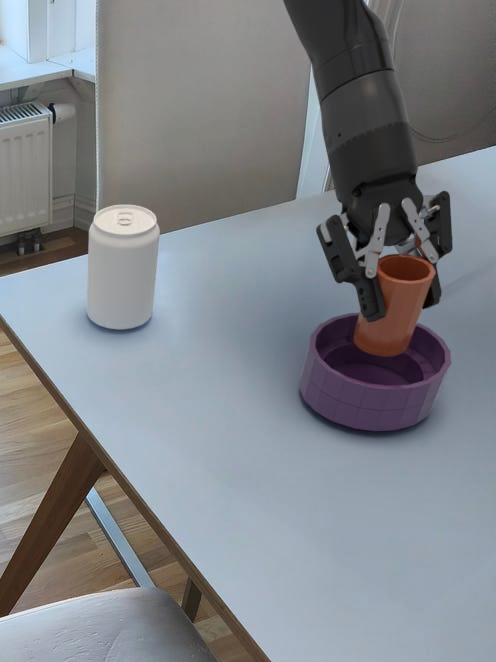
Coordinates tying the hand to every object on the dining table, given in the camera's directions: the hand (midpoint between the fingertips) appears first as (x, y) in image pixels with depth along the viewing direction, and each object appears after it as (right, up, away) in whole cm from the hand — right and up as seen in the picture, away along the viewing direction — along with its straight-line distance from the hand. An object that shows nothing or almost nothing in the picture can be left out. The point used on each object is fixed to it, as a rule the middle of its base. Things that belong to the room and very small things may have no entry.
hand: (403, 312), depth 87 cm
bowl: (0, -6, +10) cm, 11 cm away
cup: (0, -1, +4) cm, 5 cm away
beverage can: (-26, +7, +22) cm, 35 cm away
